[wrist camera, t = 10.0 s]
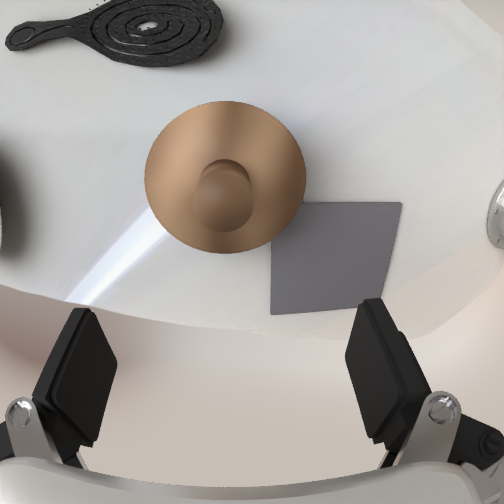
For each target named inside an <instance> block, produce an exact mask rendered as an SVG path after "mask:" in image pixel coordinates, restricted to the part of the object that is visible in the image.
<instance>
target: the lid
mask: <svg viewBox="0 0 504 504" xmlns="http://www.w3.org/2000/svg"><path fill="white" fill-rule="evenodd" d="M144 181H145V191H146V195H147V199H148V202H149V204H150V207H151V209H152V211H153V213H154V215H155V217H156V218H157V219H158V221H159V222H160V224H161V225H162V226H163V227H164V228H165V229H166V230H167V231H168V232H169V233H170V234H171V235H173V236H174V237H175V238H176V239H178V240H179V241H181V242H183V243H184V244H186V245H189V246H191V247H193V248H196V249H199V250H202V251H206V252H210V253H219V254H231V253H239V252H244V251H248V250H251V249H254V248H257V247H259V246H261V245H263V244H265V243H267V242H269V241H270V240H272V239H273V238H275V237H276V236H277V235H279V234H280V233H281V232H282V231H283V230H284V229H285V228H286V227H287V226H288V225H289V224H290V222H291V221H292V219H293V218H294V217H295V215H296V213H297V211H298V209H299V207H300V205H301V202H302V200H303V196H304V192H305V185H306V169H305V164H304V159H303V156H302V153H301V150H300V148H299V146H298V144H297V142H296V140H295V139H294V137H293V136H292V134H291V133H290V132H289V131H288V129H287V128H286V127H285V126H284V125H283V124H282V123H281V122H280V121H278V120H277V119H276V118H275V117H273V116H272V115H270V114H269V113H267V112H266V111H264V110H262V109H260V108H257V107H255V106H253V105H249V104H245V103H241V102H234V101H218V102H210V103H206V104H203V105H199V106H196V107H194V108H192V109H190V110H188V111H186V112H184V113H183V114H181V115H179V116H178V117H176V118H175V119H174V120H173V121H171V122H170V123H169V124H168V125H167V126H166V127H165V128H164V129H163V130H162V131H161V133H160V134H159V135H158V137H157V138H156V140H155V141H154V143H153V145H152V147H151V149H150V152H149V155H148V158H147V161H146V166H145V178H144Z"/></svg>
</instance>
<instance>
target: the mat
mask: <svg viewBox="0 0 504 504" xmlns="http://www.w3.org/2000/svg"><path fill="white" fill-rule="evenodd" d="M401 207H402V203H400V202H315V203H301V205H300V207H299V209H298V211H297V213H296V215H295V217H294V218H293V219H292V221H291V222H290V224H289V225H288V226H287V227H286V228H285V229H284V230H283V231H282V232H281V233H280V234H279V235H277V236H276V237H275V238H273V239H272V240H271V306H270V313H271V315H280V314H293V313H306V312H317V311H328V310H338V309H348V308H357V307H358V305H359V304H361V303H363V300H364V299H370V298H380V296H381V293H382V289H383V286H384V282H385V278H386V275H387V271H388V267H389V263H390V259H391V254H392V250H393V246H394V241H395V237H396V232H397V228H398V223H399V218H400V213H401Z"/></svg>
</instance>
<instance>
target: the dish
mask: <svg viewBox="0 0 504 504" xmlns="http://www.w3.org/2000/svg"><path fill="white" fill-rule="evenodd" d="M1 243H2V221H1V209H0V249H1Z"/></svg>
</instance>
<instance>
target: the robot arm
mask: <svg viewBox="0 0 504 504" xmlns="http://www.w3.org/2000/svg"><path fill="white" fill-rule="evenodd" d="M487 229H488V235H489V238H490V240H491V242H492V243H493V244H494V245H495V246H497V247H498V248H501V249H504V182H503V183H502V184H501V185H500V187H499V188H498V190H497V192H496V194H495V196H494V198H493V200H492V203H491V206H490V210H489V214H488V222H487ZM345 361H346V364H347V368H348V371H349V374H350V378H351V381H352V384H353V387H354V391H355V394H356V398H357V401H358V404H359V408H360V412H361V415H362V419H363V422H364V426H365V429H366V433H367V436H368V437H369V438H372V439H373V442H374V444H378V443H382V442H384V444H385V448H386V450H387V451H386V453H385V455H384V457H383V459H382V461H381V463H380V464H379V466H378V468H377V470H373V471H369V472H364V473H360V474H355V475H350V476H344V477H339V478H333V479H326V480H320V481H313V482H306V483H297V484H288V485H276V486H260V487H198V486H183V485H171V484H161V483H153V482H146V481H138V480H133V479H127V478H121V477H115V476H110V475H106V474H101V473H97V472H92V471H89V470H88V468H87V466H86V464H85V462H84V460H83V458H82V456H81V454H80V453H79V447H80V445H83V446H87V447H91V448H92V446H93V442H94V441H96V440H97V438H98V435H99V431H100V427H101V423H102V419H103V415H104V412H105V408H106V404H107V400H108V397H109V393H110V390H111V386H112V383H113V379H114V376H115V373H116V369H117V360H116V357H115V356H114V353H113V351H112V350H111V347H110V345H109V343H108V341H107V339H106V337H105V335H104V333H103V330H102V328H101V326H100V324H99V322H98V319H97V317H96V315H95V313H94V312H91V310H90V309H89V308H74V309H73V310H72V312H71V314H70V316H69V318H68V320H67V322H66V324H65V325H64V327H63V330H62V331H61V333H60V335H59V337H58V339H57V341H56V343H55V345H54V347H53V349H52V351H51V354H50V355H49V358H48V360H47V362H46V364H45V366H44V368H43V371H42V373H41V375H40V377H39V380H38V382H37V384H36V386H35V389H34V391H33V394H32V396H33V398H32V400H30V399H28V398H25V397H21V398H18V399H15V400H14V401H12V402H11V404H10V405H9V406H8V408H7V410H6V414H5V419H6V421H4V422H3V423H1V424H0V504H504V436H503V434H502V433H501V432H500V431H499V430H497V429H495V428H493V427H491V426H489V425H486V424H484V423H482V422H479V421H477V420H475V419H473V418H471V417H468V416H466V415H464V414H462V413H461V406H460V403H459V402H458V400H457V399H456V398H455V397H454V396H453V395H452V394H450V393H447V392H444V391H436V392H434V393H432V391H431V389H430V387H429V385H428V382H427V380H426V378H425V376H424V374H423V372H422V370H421V367H420V365H419V364H418V361H417V359H416V357H415V355H414V353H413V351H412V349H411V347H410V345H409V343H408V341H407V339H406V337H405V335H404V334H403V333H402V332H401V331H398V329H397V327H396V325H395V323H394V321H393V319H392V317H391V316H390V314H389V312H388V310H387V308H386V306H385V304H384V302H383V301H382V299H381V298H370V299H364V300H363V303H361V304H359V305H358V308H357V312H356V316H355V320H354V324H353V328H352V331H351V335H350V338H349V342H348V346H347V349H346V352H345Z"/></svg>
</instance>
